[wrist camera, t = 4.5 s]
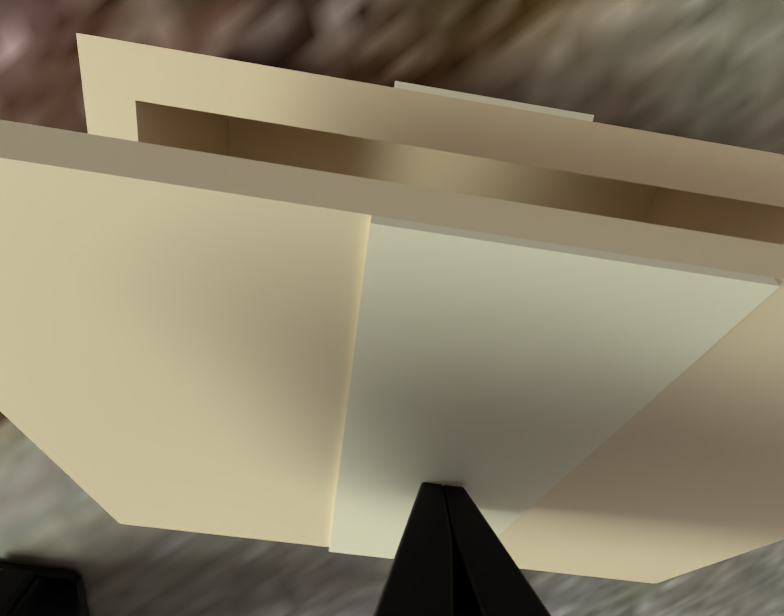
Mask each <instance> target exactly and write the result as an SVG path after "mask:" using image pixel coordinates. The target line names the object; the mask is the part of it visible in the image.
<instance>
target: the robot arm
mask: <svg viewBox="0 0 784 616" xmlns="http://www.w3.org/2000/svg"><path fill="white" fill-rule="evenodd" d="M0 616H89V614H88V609H87V604H86V599H85V594H84V589H83V584H82V579H81V576H80V575H79V574H78V573H76V572H73V571H67V570H57V569H48V568H38V567H29V566H19V565H10V564H0ZM373 616H551V615H550V613H549V612H548V610H547V609H546V607H545V606H544V604H543V603H542V601H541V600H540V599H539V597H538V596H537V594H536V593H535V591H534V590H533V588H532V587H531V585H530V584H529V582H528V581H527V579H526V578H525V576H524V575H523V574H522V572H521V571H520V569H519V568H518V566H517V565H516V563H515V562H514V560H513V559H512V557H511V556H510V554H509V553H508V551H507V550H506V549H505V547H504V546H503V544H502V543H501V541H500V540H499V538H498V537H497V535H496V534H495V532H494V531H493V529H492V528H491V526H490V525H489V524H488V522H487V521H486V519H485V518H484V516H483V515H482V513H481V512H480V510H479V509H478V507H477V506H476V504H475V503H474V501H473V500H472V499H471V497H470V496H469V494H468V493H467V491H466V490H465V488H464V487H459V486H451V485H444V486H442V485H441V484H436V483H428V482H422V483H421V485H420V488H419V490H418V493H417V496H416V499H415V501H414V504H413V507H412V510H411V513H410V515H409V518H408V521H407V524H406V526H405V529H404V532H403V535H402V537H401V540H400V543H399V546H398V549H397V551H396V554H395V557H394V560H393V562H392V565H391V568H390V571H389V573H388V576H387V579H386V582H385V585H384V587H383V590H382V593H381V596H380V598H379V601H378V604H377V607H376V609H375V612H374V615H373Z"/></svg>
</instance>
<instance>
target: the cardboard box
mask: <svg viewBox="0 0 784 616" xmlns="http://www.w3.org/2000/svg"><path fill="white" fill-rule="evenodd" d="M76 36H77V45H78V53H79V62H80V70H81V79H82V87H83V96H84V104H85V112H86V121H87V129H88V134H93V135H99V136H105V137H112V138H118V139H124V140H130V141H137V142H143V143H149V144H155V145H162V146H168V147H174V148H180V149H187V150H193V151H199V152H206V153H212V154H218V155H224V156H231V157H237V158H243V159H249V160H256V161H262V162H268V163H274V164H281V165H287V166H293V167H299V168H306V169H312V170H318V171H324V172H331V173H337V174H343V175H349V176H356V177H362V178H368V179H374V180H381V181H387V182H393V183H400V184H406V185H412V186H418V187H425V188H431V189H437V190H443V191H450V192H456V193H462V194H468V195H475V196H481V197H487V198H493V199H500V200H506V201H512V202H518V203H525V204H531V205H537V206H543V207H550V208H556V209H562V210H568V211H575V212H581V213H587V214H593V215H600V216H606V217H612V218H619V219H625V220H631V221H637V222H644V223H650V224H656V225H662V226H669V227H675V228H681V229H687V230H694V231H700V232H706V233H712V234H719V235H725V236H731V237H737V238H744V239H750V240H756V241H762V242H769V243H775V244H781V245H784V155H783V154H777V153H771V152H765V151H760V150H754V149H748V148H742V147H736V146H731V145H725V144H719V143H713V142H707V141H702V140H696V139H690V138H684V137H678V136H672V135H667V134H661V133H655V132H649V131H643V130H638V129H632V128H626V127H620V126H614V125H609V124H603V123H597V122H592V121H593V118H594V115H590V114H584V113H579V112H573V111H567V110H561V109H555V108H550V107H544V106H538V105H532V104H527V103H521V102H515V101H509V100H503V99H498V98H492V97H486V96H480V95H475V94H469V93H463V92H457V91H451V90H446V89H440V88H434V87H428V86H422V85H417V84H411V83H405V82H399V81H395V84H394V88H393V87H388V86H382V85H376V84H370V83H364V82H359V81H353V80H347V79H341V78H335V77H330V76H324V75H318V74H312V73H306V72H301V71H295V70H289V69H283V68H277V67H271V66H266V65H260V64H254V63H248V62H242V61H237V60H231V59H225V58H219V57H213V56H208V55H202V54H196V53H190V52H184V51H178V50H173V49H167V48H161V47H155V46H149V45H144V44H138V43H132V42H126V41H120V40H115V39H109V38H103V37H97V36H91V35H85V34H80V33H76Z"/></svg>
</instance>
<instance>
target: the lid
mask: <svg viewBox="0 0 784 616" xmlns="http://www.w3.org/2000/svg"><path fill="white" fill-rule="evenodd" d="M0 411H1V412H2V413H3V414H4V415H5V416H6V417H7V418H8V419H9V420H10V421H11V422H12V423H13V424H14V425H16V426H17V427H18V428H19V429H20V430H21V431H22V432H23V433H24V434H25V435H26V436H27V437H28V438H29V439H30V440H31V441H32V442H34V443H35V444H36V445H37V446H38V447H39V448H40V449H41V450H42V451H43V452H44V453H45V454H46V455H47V456H48V457H49V458H51V459H52V460H53V461H54V462H55V463H56V464H57V465H58V466H59V467H60V468H61V469H62V470H63V471H64V472H65V473H66V474H67V475H69V476H70V477H71V478H72V479H73V480H74V481H75V482H76V483H77V484H78V485H79V486H80V487H81V488H82V489H83V490H84V491H86V492H87V493H88V494H89V495H90V496H91V497H92V498H93V499H94V500H95V501H96V502H97V503H98V504H99V505H100V506H101V507H102V508H104V509H105V510H106V511H107V512H108V513H109V514H110V515H111V516H112V517H113V518H114V519H115V520H116V521H117V522H118V523H119V524H126V525H135V526H144V527H153V528H162V529H171V530H180V531H189V532H198V533H207V534H216V535H224V536H233V537H242V538H251V539H260V540H269V541H278V542H287V543H296V544H305V545H314V546H323V547H329V552H335V553H344V554H353V555H362V556H371V557H380V558H389V559H394V557H395V554H396V551H397V549H398V546H399V543H400V540H401V537H402V535H403V532H404V529H405V526H406V524H407V521H408V518H409V515H410V513H411V510H412V507H413V504H414V501H415V499H416V496H417V493H418V490H419V488H420V485H421V483H422V482H428V483H436V484H441V485H442V486H444V485H451V486H459V487H464V488H465V490H466V491H467V493H468V494H469V496H470V497H471V499H472V500H473V501H474V503H475V504H476V506H477V507H478V509H479V510H480V512H481V513H482V515H483V516H484V518H485V519H486V521H487V522H488V524H489V525H490V526H491V528H492V529H493V531H494V532H495V534H496V535H497V537H498V538H499V540H500V541H501V543H502V544H503V546H504V547H505V549H506V550H507V551H508V553H509V554H510V556H511V557H512V559H513V560H514V562H515V563H516V565H517V566H518V568H520V569H529V570H538V571H546V572H555V573H564V574H573V575H582V576H591V577H600V578H609V579H618V580H627V581H636V582H645V583H654V584H656V583H659V582H662V581H665V580H667V579H670V578H673V577H676V576H679V575H682V574H685V573H688V572H691V571H694V570H696V569H699V568H702V567H705V566H708V565H711V564H714V563H717V562H720V561H723V560H726V559H728V558H731V557H734V556H737V555H740V554H743V553H746V552H749V551H752V550H755V549H757V548H760V547H763V546H766V545H769V544H772V543H775V542H778V541H781V540H784V245H781V244H775V243H769V242H762V241H756V240H750V239H744V238H737V237H731V236H725V235H719V234H712V233H706V232H700V231H694V230H687V229H681V228H675V227H669V226H662V225H656V224H650V223H644V222H637V221H631V220H625V219H619V218H612V217H606V216H600V215H593V214H587V213H581V212H575V211H568V210H562V209H556V208H550V207H543V206H537V205H531V204H525V203H518V202H512V201H506V200H500V199H493V198H487V197H481V196H475V195H468V194H462V193H456V192H450V191H443V190H437V189H431V188H425V187H418V186H412V185H406V184H400V183H393V182H387V181H381V180H374V179H368V178H362V177H356V176H349V175H343V174H337V173H331V172H324V171H318V170H312V169H306V168H299V167H293V166H287V165H281V164H274V163H268V162H262V161H256V160H249V159H243V158H237V157H231V156H224V155H218V154H212V153H206V152H199V151H193V150H187V149H180V148H174V147H168V146H162V145H155V144H149V143H143V142H137V141H130V140H124V139H118V138H112V137H105V136H99V135H93V134H87V133H80V132H74V131H68V130H62V129H55V128H49V127H43V126H37V125H30V124H24V123H18V122H12V121H5V120H0Z"/></svg>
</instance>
